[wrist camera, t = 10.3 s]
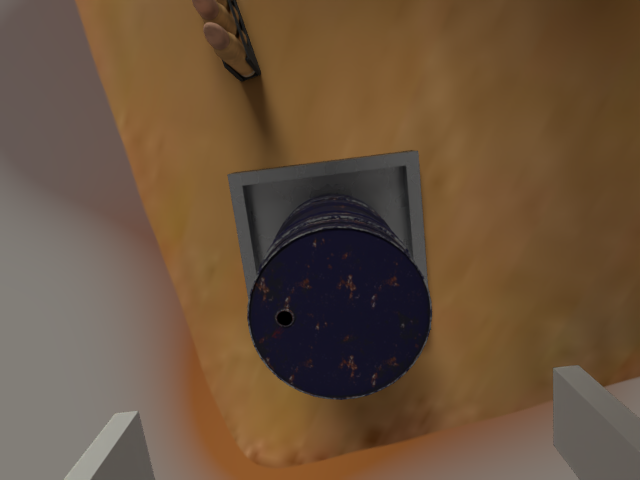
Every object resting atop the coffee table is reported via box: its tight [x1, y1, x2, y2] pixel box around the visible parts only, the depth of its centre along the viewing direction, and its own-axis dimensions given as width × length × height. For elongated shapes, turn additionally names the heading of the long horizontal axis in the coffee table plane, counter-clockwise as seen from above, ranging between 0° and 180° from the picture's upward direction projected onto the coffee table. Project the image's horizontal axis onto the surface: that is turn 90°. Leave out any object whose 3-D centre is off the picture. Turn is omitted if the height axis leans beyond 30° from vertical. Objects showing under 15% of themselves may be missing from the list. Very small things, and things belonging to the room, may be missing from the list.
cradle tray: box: [228, 150, 431, 330], centre depth 36 cm, size 15×15×2 cm
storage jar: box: [248, 193, 432, 400], centre depth 30 cm, size 10×10×15 cm
